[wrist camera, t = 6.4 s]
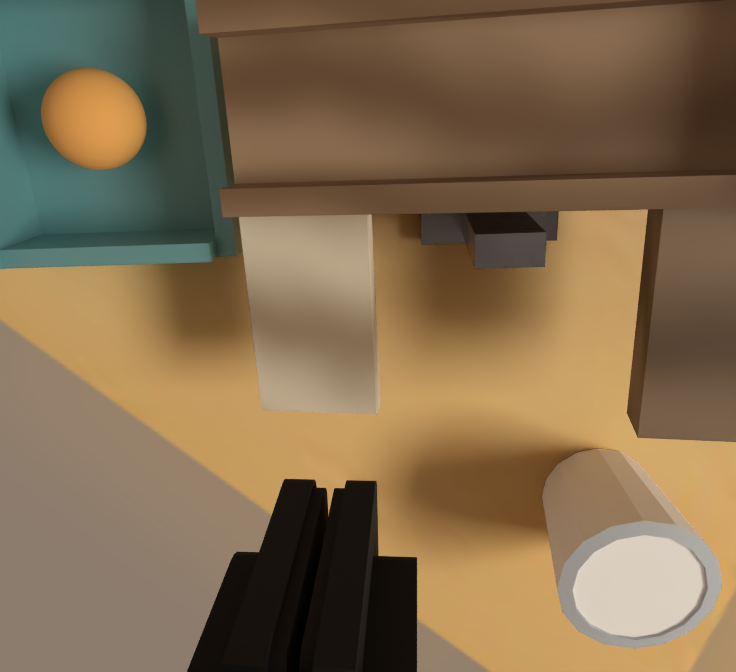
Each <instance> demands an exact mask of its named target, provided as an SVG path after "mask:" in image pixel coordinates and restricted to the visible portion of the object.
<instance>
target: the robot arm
mask: <svg viewBox="0 0 736 672" xmlns="http://www.w3.org/2000/svg"><path fill="white" fill-rule="evenodd" d="M187 672H417V557H388V556H378V515H377V483H376V481H350V480H347V481H346V484H345V488H335V489H334V492H333V497H332V502H331V507H330V512H329V516H328V501H327V490H326V488H317V487H316V481H315V480H306V479H285V480H284V482H283V484H282V487H281V490H280V493H279V496H278V499H277V502H276V504H275V507H274V510H273V513H272V516H271V519H270V522H269V525H268V528H267V531H266V534H265V537H264V540H263V543H262V546H261V548H260V551H259V552H236V553H235V554H234V556H233V558H232V560H231V562H230V564H229V567H228V569H227V572H226V574H225V577H224V579H223V582H222V584H221V587H220V589H219V592H218V594H217V597H216V600H215V602H214V605H213V607H212V610H211V612H210V615H209V617H208V620H207V622H206V625H205V628H204V630H203V633H202V635H201V637H200V640H199V643H198V645H197V648H196V650H195V653H194V655H193V658H192V660H191V663H190V665H189V668H188V670H187Z"/></svg>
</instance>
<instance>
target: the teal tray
mask: <svg viewBox="0 0 736 672" xmlns="http://www.w3.org/2000/svg"><path fill="white" fill-rule="evenodd" d="M78 68H96V69H101V70H104V71H107V72H110V73H112V74H114V75H116V76H117V77H119V78H121V79H122V80H123V81H125V82H126V83H127V84H128V85H129V86H130V87H131V88H132V89H133V90H134V92H135V93H136V94H137V96H138V97H139V99H140V101H141V103H142V105H143V108H144V111H145V115H146V122H147V130H146V136H145V140H144V143H143V145H142V147H141V149H140V150H139V152H138V153H137V154H136V155H135V156H134V158H132V159H131V160H130V161H129V162H127V163H125V164H124V165H122V166H120V167H117V168H114V169H108V170H92V169H87V168H84V167H81V166H79V165H76V164H74V163H72V162H70V161H69V160H67V159H66V158H65V157H63V156H62V155H61V154H60V153H59V152H58V151H57V150H56V149H55V148H54V147H53V145H52V144H51V142H50V141H49V139H48V137H47V135H46V133H45V130H44V127H43V124H42V118H41V107H42V101H43V97H44V95H45V93H46V91H47V89H48V87H49V86H50V85H51V83H52V82H53V81H54V80H55V79H57V78H58V77H59V76H61V75H62V74H64V73H66V72H68V71H70V70H74V69H78ZM233 184H235V180H234V172H233V163H232V155H231V146H230V138H229V129H228V121H227V113H226V104H225V96H224V87H223V79H222V70H221V62H220V53H219V45H218V38H216V37H211V36H207V35H202V34H199V26H198V18H197V10H196V2H195V0H0V269H6V268H38V267H70V266H102V265H134V264H166V263H197V262H212V261H213V260H214V259H216V258H217V257H221V256H237V255H238V254H239V253H240V252H242V251H243V248H242V239H241V231H240V223H239V217H223V215H222V207H221V199H220V191H219V189H221V188H224V187H227V186H230V185H233Z"/></svg>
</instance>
